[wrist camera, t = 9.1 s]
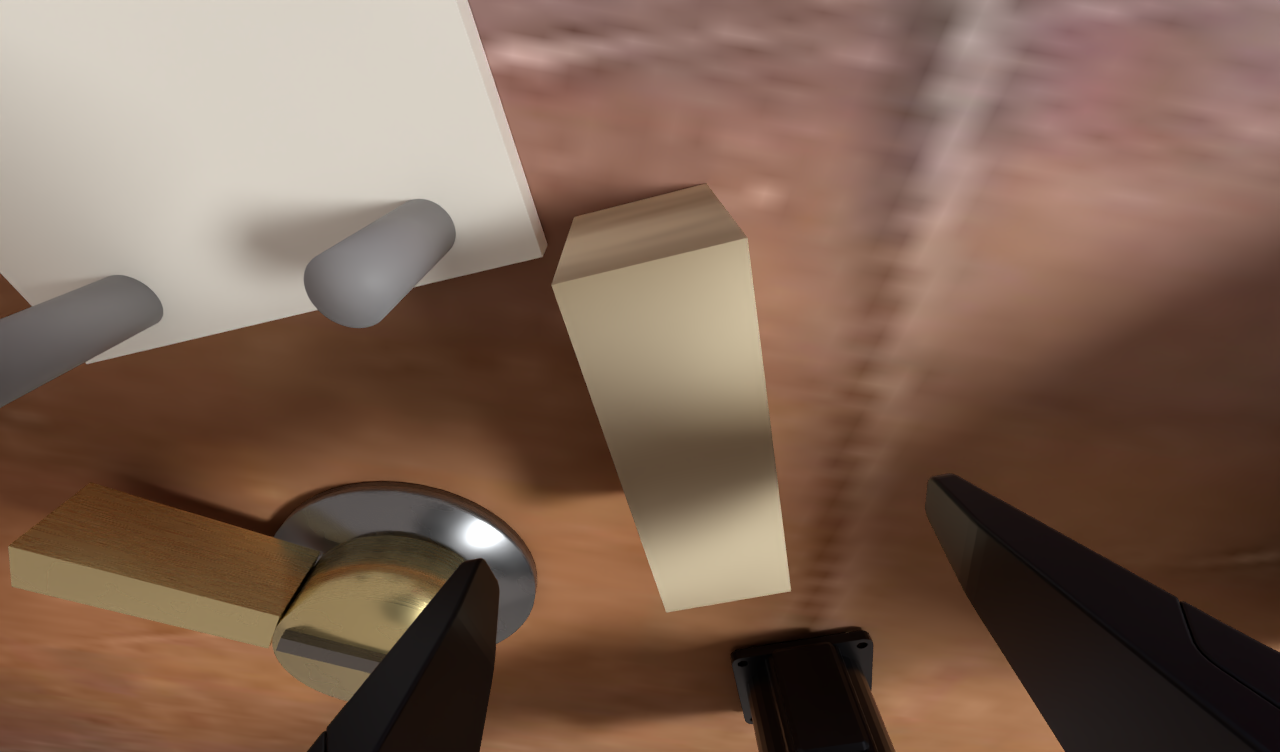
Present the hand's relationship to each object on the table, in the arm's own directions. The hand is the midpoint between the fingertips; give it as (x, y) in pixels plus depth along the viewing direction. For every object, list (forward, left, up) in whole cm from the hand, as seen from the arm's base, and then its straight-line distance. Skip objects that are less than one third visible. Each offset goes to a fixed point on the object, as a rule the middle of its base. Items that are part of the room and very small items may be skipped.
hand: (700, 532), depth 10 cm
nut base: (-7, +12, -6) cm, 15 cm away
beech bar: (0, 0, -7) cm, 7 cm away
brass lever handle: (-5, +15, -5) cm, 16 cm away
